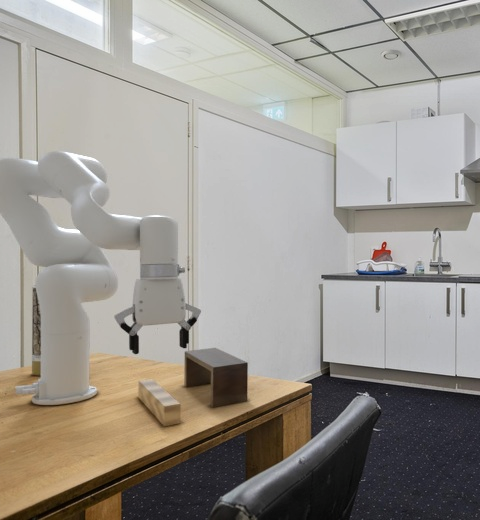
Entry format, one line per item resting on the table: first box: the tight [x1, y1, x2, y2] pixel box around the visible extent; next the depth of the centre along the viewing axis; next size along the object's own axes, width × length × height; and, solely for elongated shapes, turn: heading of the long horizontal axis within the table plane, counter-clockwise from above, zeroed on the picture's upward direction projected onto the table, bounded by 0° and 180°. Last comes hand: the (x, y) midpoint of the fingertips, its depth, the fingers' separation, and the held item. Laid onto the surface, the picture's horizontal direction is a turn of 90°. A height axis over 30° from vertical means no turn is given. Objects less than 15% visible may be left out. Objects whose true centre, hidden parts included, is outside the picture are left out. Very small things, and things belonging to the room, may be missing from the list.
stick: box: [137, 378, 181, 427], centre depth 102 cm, size 24×3×4 cm, turn 39°
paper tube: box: [31, 284, 41, 377], centre depth 132 cm, size 7×7×25 cm
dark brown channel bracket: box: [183, 347, 249, 408], centre depth 115 cm, size 8×22×9 cm, turn 39°
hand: (160, 350), depth 102 cm, fingers open, 9 cm apart
